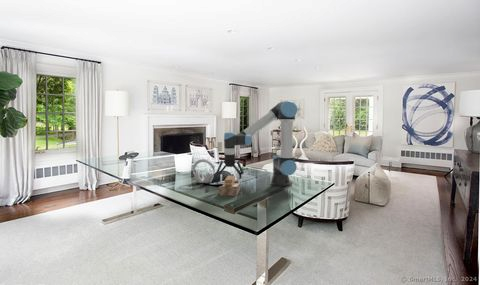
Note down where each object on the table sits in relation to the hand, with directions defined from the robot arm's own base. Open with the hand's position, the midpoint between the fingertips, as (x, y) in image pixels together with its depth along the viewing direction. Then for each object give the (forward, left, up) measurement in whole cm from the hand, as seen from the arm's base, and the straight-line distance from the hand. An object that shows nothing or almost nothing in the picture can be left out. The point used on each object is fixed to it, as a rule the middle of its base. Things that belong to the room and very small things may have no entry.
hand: (230, 183), depth 190 cm
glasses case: (0, 0, -2) cm, 2 cm away
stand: (0, 0, -6) cm, 6 cm away
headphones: (+26, -22, -6) cm, 35 cm away
